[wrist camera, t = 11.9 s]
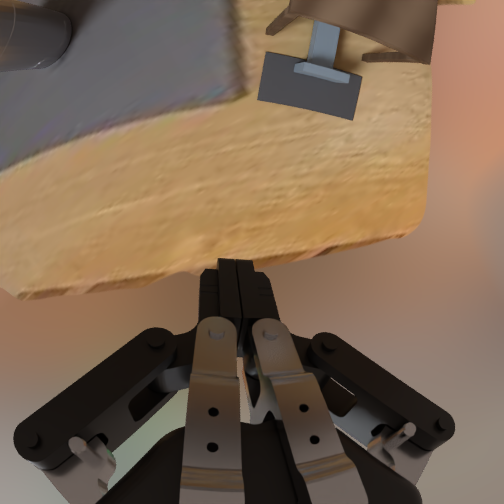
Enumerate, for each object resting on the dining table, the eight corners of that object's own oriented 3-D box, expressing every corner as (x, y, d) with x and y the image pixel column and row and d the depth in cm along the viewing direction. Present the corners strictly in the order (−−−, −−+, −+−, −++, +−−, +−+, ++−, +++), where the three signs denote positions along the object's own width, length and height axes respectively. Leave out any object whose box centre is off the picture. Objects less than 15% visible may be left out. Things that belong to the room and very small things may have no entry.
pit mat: (257, 100, 34) (257, 100, 34) (265, 52, 31) (266, 51, 30) (352, 120, 37) (352, 120, 37) (361, 77, 33) (362, 77, 33)
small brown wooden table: (264, 34, 29) (290, 10, 17) (276, -24, 24) (305, -67, 12) (367, 63, 32) (429, 64, 20) (377, 8, 27) (437, -7, 15)
